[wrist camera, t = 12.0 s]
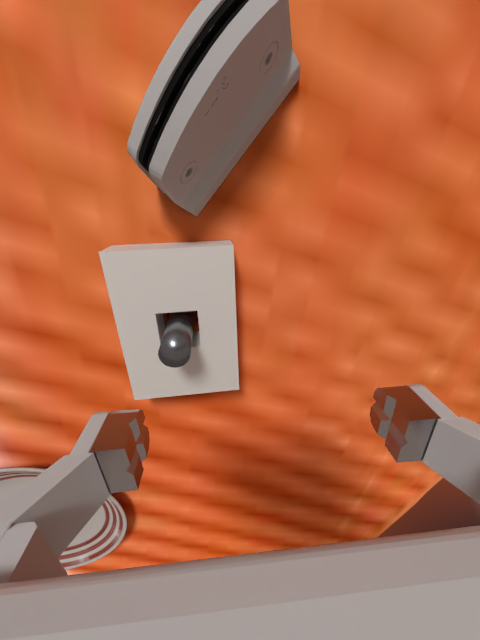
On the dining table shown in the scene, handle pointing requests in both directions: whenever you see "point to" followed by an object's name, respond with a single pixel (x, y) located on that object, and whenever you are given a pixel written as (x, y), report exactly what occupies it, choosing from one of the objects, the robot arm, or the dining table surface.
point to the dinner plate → (94, 536)
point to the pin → (177, 339)
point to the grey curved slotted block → (213, 96)
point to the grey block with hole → (175, 296)
